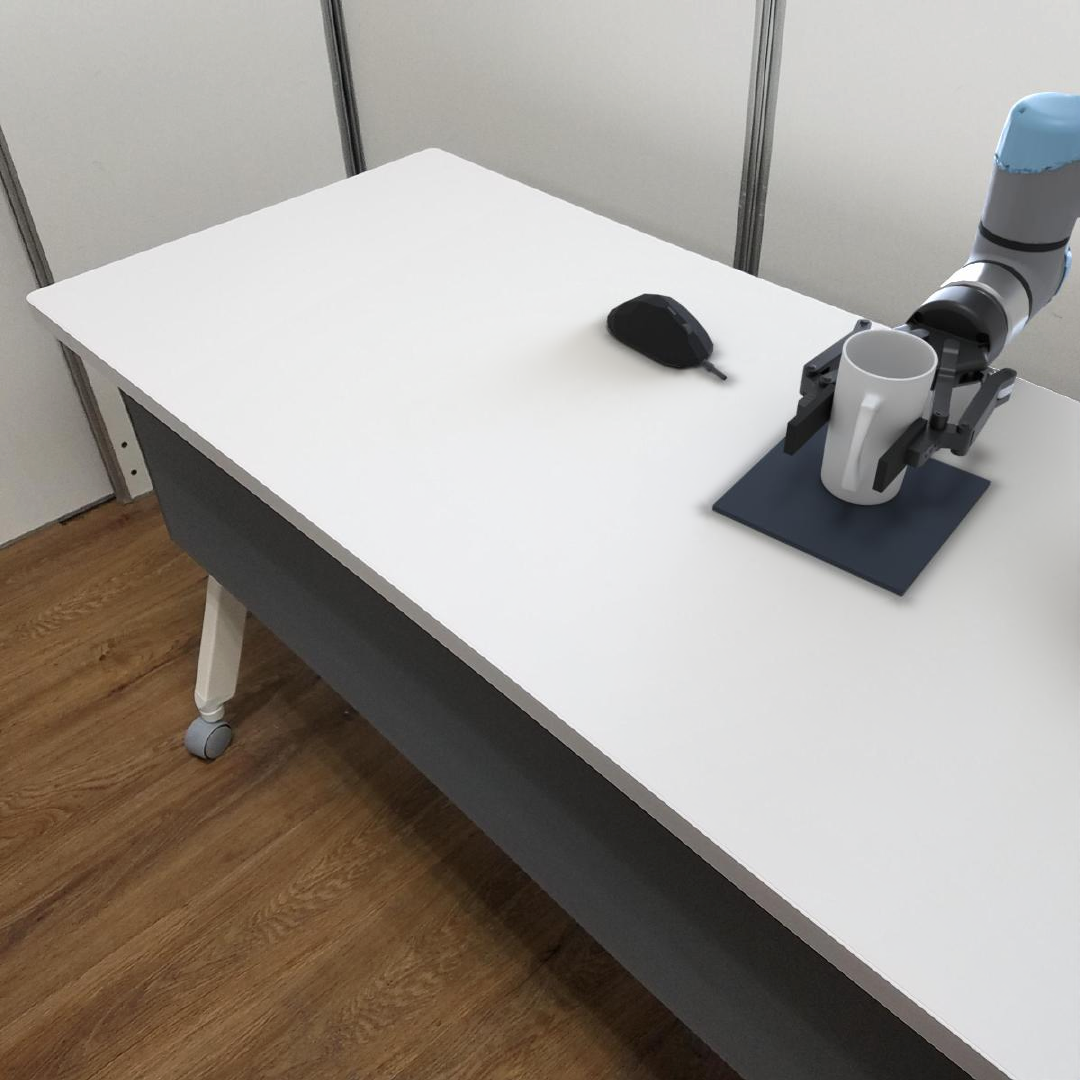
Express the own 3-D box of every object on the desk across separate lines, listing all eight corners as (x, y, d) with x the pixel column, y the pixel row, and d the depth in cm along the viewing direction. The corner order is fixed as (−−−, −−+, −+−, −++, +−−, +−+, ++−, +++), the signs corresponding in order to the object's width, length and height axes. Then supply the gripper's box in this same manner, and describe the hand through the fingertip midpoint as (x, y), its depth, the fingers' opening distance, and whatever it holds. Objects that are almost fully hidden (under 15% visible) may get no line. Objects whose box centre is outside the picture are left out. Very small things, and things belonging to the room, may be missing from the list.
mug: (831, 445, 94) (857, 320, 86) (912, 468, 92) (947, 341, 83) (793, 517, 87) (817, 388, 79) (879, 544, 85) (914, 414, 77)
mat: (989, 485, 91) (991, 480, 90) (901, 596, 81) (902, 591, 81) (810, 415, 98) (811, 410, 98) (711, 510, 89) (712, 505, 89)
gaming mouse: (700, 392, 101) (703, 354, 99) (593, 326, 110) (594, 289, 108) (750, 367, 104) (754, 329, 101) (642, 305, 113) (644, 268, 110)
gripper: (1067, 402, 93) (950, 550, 80) (852, 328, 103) (715, 450, 90) (1095, 322, 88) (975, 466, 75) (866, 252, 98) (723, 369, 85)
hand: (834, 457), depth 82 cm, fingers closed on mug, 7 cm apart
